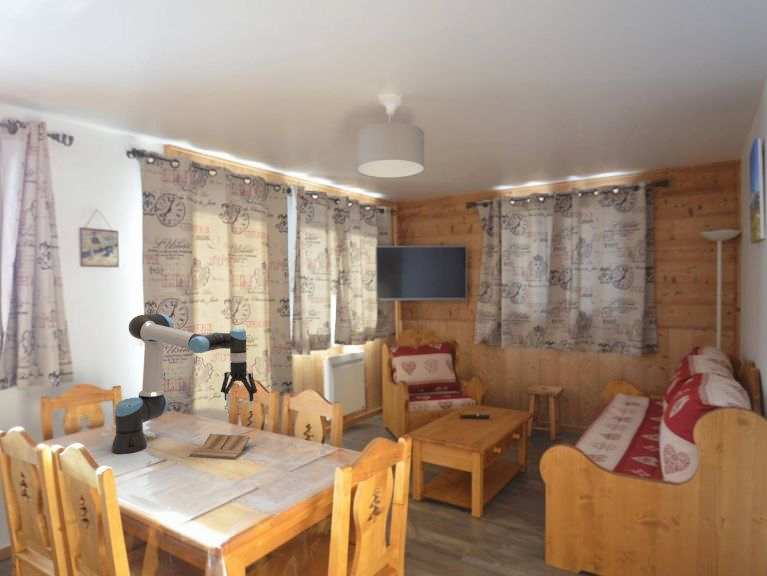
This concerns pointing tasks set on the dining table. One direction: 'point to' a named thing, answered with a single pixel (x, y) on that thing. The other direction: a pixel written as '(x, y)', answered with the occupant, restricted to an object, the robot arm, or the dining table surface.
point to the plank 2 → (236, 442)
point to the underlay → (220, 453)
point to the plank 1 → (215, 441)
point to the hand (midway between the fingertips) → (239, 407)
